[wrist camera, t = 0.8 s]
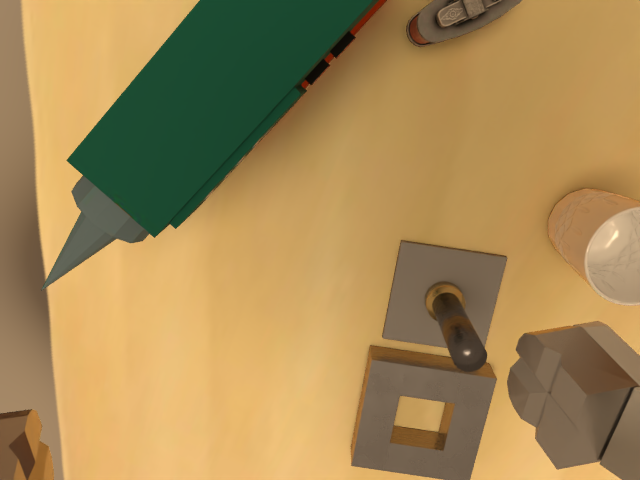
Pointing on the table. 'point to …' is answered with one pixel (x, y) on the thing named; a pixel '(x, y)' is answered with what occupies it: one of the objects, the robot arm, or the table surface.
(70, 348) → the table surface
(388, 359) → the grey square frame
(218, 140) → the power tool
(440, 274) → the grey square plate
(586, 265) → the white cup
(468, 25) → the lighter
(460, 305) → the dark grey peg
